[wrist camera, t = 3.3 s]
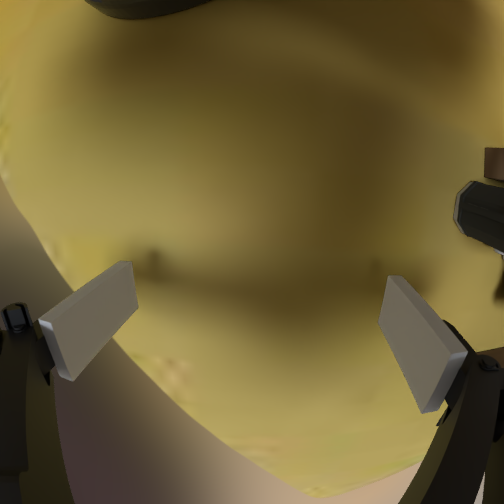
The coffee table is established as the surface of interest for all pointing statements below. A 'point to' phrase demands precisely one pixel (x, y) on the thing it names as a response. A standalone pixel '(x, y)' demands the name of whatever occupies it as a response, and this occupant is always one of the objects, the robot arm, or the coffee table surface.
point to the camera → (481, 214)
